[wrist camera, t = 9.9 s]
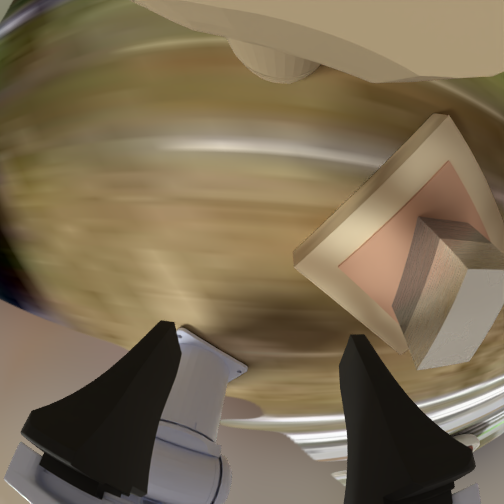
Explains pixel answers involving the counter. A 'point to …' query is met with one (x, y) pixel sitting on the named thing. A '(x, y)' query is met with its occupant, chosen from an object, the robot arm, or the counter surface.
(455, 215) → the stand
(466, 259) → the block
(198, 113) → the counter surface
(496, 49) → the handle
